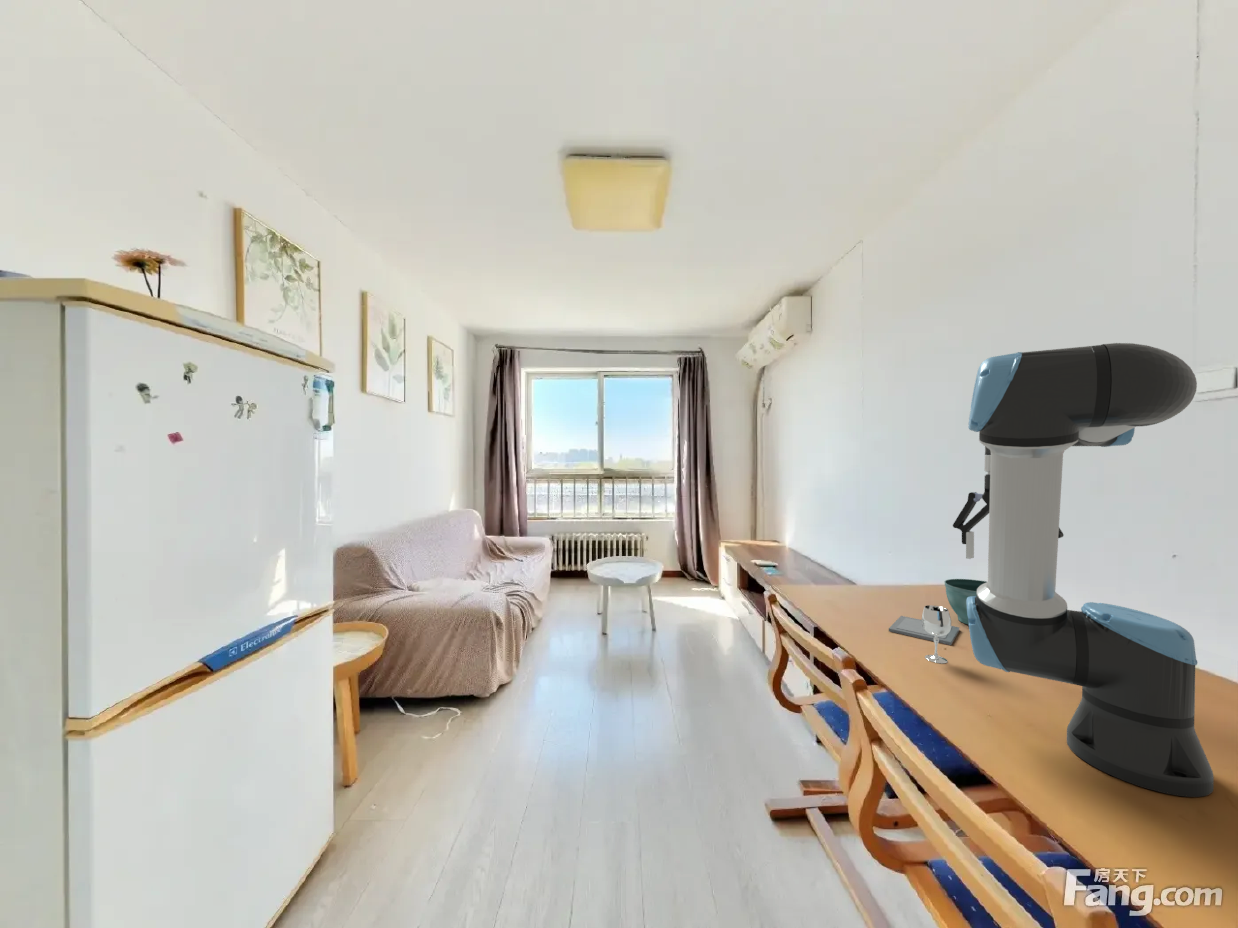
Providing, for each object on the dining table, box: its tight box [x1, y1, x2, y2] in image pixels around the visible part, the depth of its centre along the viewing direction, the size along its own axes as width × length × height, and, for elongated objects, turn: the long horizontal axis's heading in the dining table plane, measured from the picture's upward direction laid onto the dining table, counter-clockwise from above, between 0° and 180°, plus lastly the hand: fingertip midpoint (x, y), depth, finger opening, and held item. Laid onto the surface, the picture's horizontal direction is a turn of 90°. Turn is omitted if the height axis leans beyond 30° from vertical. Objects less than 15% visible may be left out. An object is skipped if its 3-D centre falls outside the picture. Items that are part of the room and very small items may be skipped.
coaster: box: [888, 615, 960, 646], centre depth 127 cm, size 14×14×1 cm
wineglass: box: [921, 604, 952, 664], centre depth 109 cm, size 6×6×12 cm
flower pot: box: [944, 578, 988, 626], centre depth 133 cm, size 16×16×11 cm
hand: (1004, 563), depth 110 cm, fingers open, 13 cm apart
